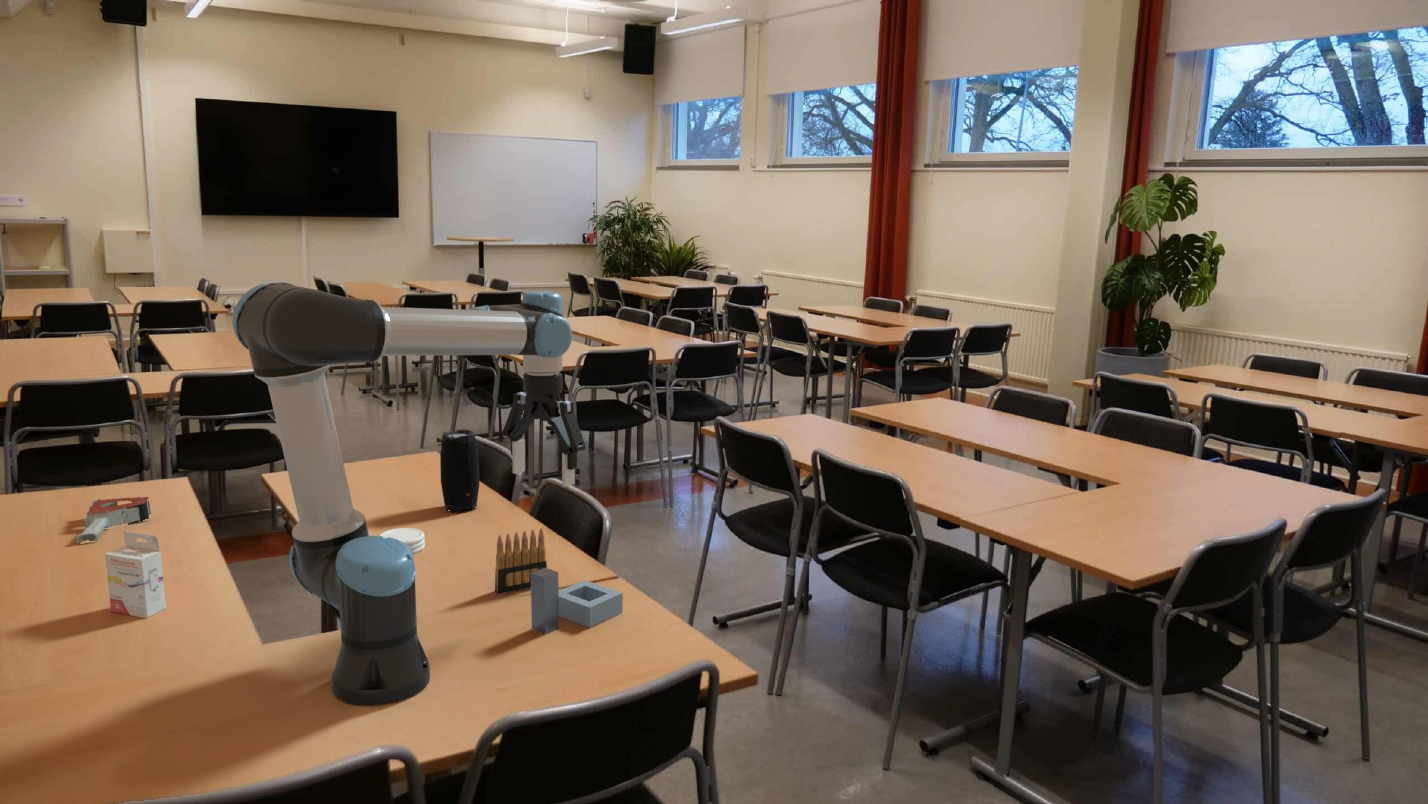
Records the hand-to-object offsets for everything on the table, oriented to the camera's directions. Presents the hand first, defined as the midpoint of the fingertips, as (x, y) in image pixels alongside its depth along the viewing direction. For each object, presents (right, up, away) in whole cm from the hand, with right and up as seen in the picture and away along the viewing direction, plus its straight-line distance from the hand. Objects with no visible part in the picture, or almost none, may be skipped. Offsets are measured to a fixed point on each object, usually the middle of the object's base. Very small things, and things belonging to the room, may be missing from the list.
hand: (543, 478), depth 198 cm
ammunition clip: (-5, -23, +7) cm, 24 cm away
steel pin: (+3, -27, -12) cm, 30 cm away
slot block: (+9, -25, -5) cm, 27 cm away
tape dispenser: (-108, -15, +36) cm, 115 cm away
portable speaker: (-30, -12, +56) cm, 64 cm away
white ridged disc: (-36, -18, +27) cm, 49 cm away
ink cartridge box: (-75, -24, -8) cm, 79 cm away
